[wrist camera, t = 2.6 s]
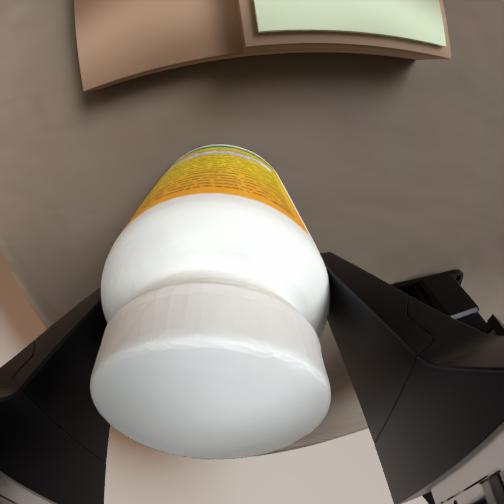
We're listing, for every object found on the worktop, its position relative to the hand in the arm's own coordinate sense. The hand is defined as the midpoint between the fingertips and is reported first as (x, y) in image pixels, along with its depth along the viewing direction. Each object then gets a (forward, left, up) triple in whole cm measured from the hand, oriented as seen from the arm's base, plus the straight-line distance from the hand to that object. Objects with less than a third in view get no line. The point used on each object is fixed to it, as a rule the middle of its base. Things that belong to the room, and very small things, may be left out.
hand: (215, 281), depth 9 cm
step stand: (+12, -3, -6) cm, 14 cm away
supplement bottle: (0, 0, -7) cm, 7 cm away
